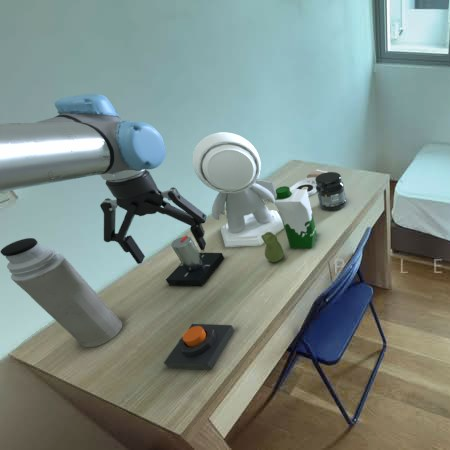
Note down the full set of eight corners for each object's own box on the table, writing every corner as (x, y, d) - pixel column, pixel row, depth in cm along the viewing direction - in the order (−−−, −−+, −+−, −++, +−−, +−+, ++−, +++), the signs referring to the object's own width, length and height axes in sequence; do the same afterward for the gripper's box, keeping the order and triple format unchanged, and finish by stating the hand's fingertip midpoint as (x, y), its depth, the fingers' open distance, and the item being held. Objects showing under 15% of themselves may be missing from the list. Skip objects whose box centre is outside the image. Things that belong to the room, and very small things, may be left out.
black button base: (211, 370, 67) (203, 359, 65) (168, 368, 68) (159, 357, 65) (234, 330, 75) (228, 320, 73) (195, 329, 76) (188, 318, 73)
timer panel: (202, 286, 88) (198, 280, 86) (169, 285, 88) (165, 279, 87) (224, 258, 97) (221, 252, 96) (194, 258, 98) (191, 251, 97)
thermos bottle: (75, 340, 74) (-21, 251, 58) (111, 315, 80) (34, 229, 64) (92, 352, 71) (-3, 262, 55) (129, 326, 77) (52, 237, 61)
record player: (333, 173, 139) (304, 193, 124) (334, 179, 140) (305, 200, 126) (313, 168, 143) (282, 188, 129) (314, 175, 145) (284, 194, 131)
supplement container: (330, 195, 128) (325, 169, 121) (351, 200, 124) (347, 173, 117) (314, 208, 120) (307, 180, 113) (336, 213, 116) (331, 185, 110)
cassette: (254, 195, 131) (248, 179, 126) (257, 193, 132) (252, 177, 128) (276, 200, 127) (271, 183, 122) (279, 198, 128) (274, 181, 124)
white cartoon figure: (228, 256, 98) (178, 152, 78) (219, 223, 114) (176, 129, 94) (290, 235, 106) (260, 135, 86) (273, 206, 123) (244, 117, 102)
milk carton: (294, 234, 107) (279, 182, 95) (320, 233, 106) (308, 181, 95) (286, 250, 100) (269, 197, 88) (314, 249, 99) (300, 196, 88)
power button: (199, 347, 67) (195, 341, 66) (182, 346, 68) (178, 341, 67) (210, 331, 71) (206, 326, 70) (193, 331, 71) (189, 325, 70)
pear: (287, 260, 96) (279, 234, 90) (270, 267, 93) (261, 242, 87) (281, 251, 99) (273, 226, 94) (265, 258, 97) (255, 233, 91)
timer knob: (197, 271, 89) (183, 246, 84) (181, 271, 90) (166, 246, 84) (207, 259, 93) (194, 235, 88) (192, 259, 94) (178, 235, 88)
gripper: (41, 194, 58) (107, 276, 70) (189, 171, 64) (226, 250, 76) (62, 178, 64) (119, 256, 76) (196, 158, 70) (229, 233, 82)
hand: (173, 253), depth 76 cm, fingers open, 13 cm apart
